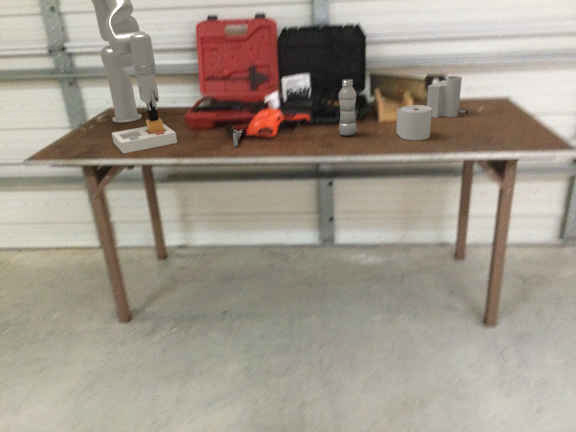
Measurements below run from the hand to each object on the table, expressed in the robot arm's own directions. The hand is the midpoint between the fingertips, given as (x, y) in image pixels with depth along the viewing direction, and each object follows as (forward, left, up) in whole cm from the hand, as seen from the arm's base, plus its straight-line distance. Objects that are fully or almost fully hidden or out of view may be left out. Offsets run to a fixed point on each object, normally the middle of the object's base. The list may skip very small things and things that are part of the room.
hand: (153, 120), depth 192 cm
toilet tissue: (+56, +77, -8) cm, 96 cm away
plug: (0, 0, -8) cm, 8 cm away
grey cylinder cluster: (+44, +107, -8) cm, 116 cm away
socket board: (0, -5, -8) cm, 9 cm away
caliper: (+19, +26, -8) cm, 33 cm away
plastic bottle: (+40, +60, -8) cm, 73 cm away
